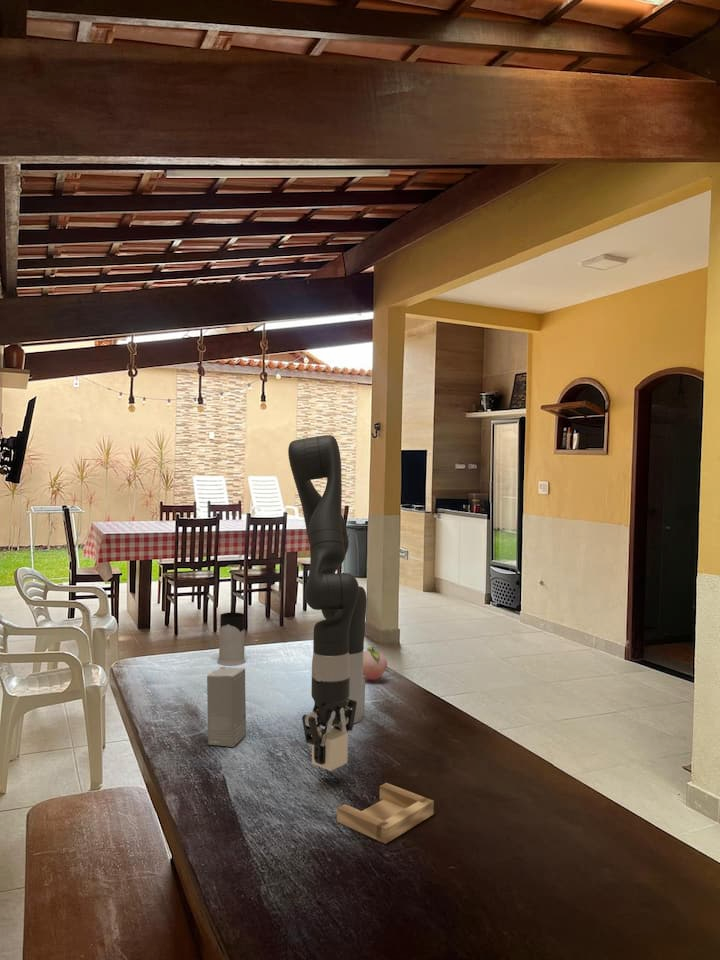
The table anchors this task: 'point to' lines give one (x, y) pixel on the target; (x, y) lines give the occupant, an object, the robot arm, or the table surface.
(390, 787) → the rest cradle
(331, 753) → the block
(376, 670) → the decorative fruit
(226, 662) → the glass holder
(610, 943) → the table surface
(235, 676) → the skincare box
